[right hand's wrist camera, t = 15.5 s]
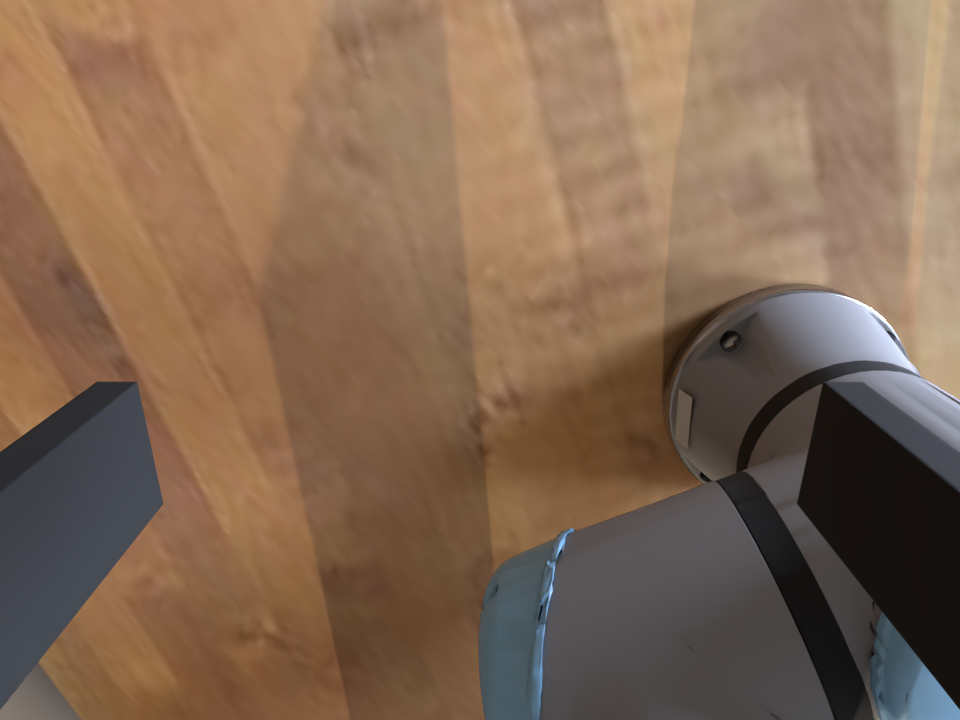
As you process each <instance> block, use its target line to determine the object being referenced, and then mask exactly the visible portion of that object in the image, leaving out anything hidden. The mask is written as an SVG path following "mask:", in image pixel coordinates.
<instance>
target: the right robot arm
mask: <svg viewBox="0 0 960 720" xmlns="http://www.w3.org/2000/svg"><path fill="white" fill-rule="evenodd" d="M663 412H664V419H665V425H666V428H667V432H668V434H669V437H670V439H671V441H672V443H673V445H674V447H675V449H676V450H677V452H678V454H679V456H680V458H681V459H682V461H683V463H684V464H685V465H686V467H687V468H688V470H689V471H690V472H691V473H692V474H693V475H694V476H695V477H696V478H697V479H698V480H699V481H700V482H701V483H703V485H700V486H698V487H695V488H693V489H690V490H687V491H685V492H682V493H679V494H677V495H674V496H671V497H669V498H666V499H663V500H661V501H658V502H656V503H653V504H650V505H648V506H645V507H642V508H639V509H636V510H634V511H631V512H628V513H625V514H622V515H619V516H617V517H614V518H611V519H608V520H605V521H603V522H600V523H597V524H594V525H591V526H589V527H586V528H583V529H580V530H577V531H576V530H574V529H572V528H570V529H567V530H564V531H562V532H561V533H560V534H559V535H558V536H557V538H555V539H553V540H550V541H548V542H546V543H543V544H541V545H539V546H536V547H534V548H532V549H530V550H527V551H525V552H523V553H520V554H518V555H516V556H513V557H511V558H510V559H508V560H506V561H505V562H504V563H503V564H502V565H500V567H499V568H498V569H497V570H496V571H495V573H494V575H493V576H492V578H491V579H490V581H489V584H488V586H487V589H486V592H485V595H484V600H483V605H482V613H481V615H480V624H479V672H480V685H481V695H482V703H483V710H484V716H485V720H960V400H959V399H957V398H955V397H954V396H952V395H950V394H949V393H947V392H946V391H944V390H942V389H941V388H939V387H937V386H936V385H934V384H932V383H930V382H929V381H927V380H925V379H924V378H922V377H921V376H920V374H919V372H918V371H917V369H916V368H915V367H914V365H913V364H911V363H910V362H909V359H908V356H907V354H906V351H905V349H904V347H903V345H902V343H901V342H900V340H899V338H898V336H897V334H896V333H895V331H894V330H893V329H892V327H891V326H890V325H889V324H888V323H887V322H886V320H885V319H884V318H882V317H881V316H880V315H879V314H878V313H877V312H875V311H874V310H872V309H871V308H869V307H868V306H866V305H864V304H862V303H860V302H859V301H857V300H855V299H853V298H851V297H849V296H847V295H845V294H843V293H841V292H838V291H835V290H833V289H830V288H826V287H822V286H816V285H809V284H785V285H778V286H772V287H768V288H763V289H760V290H757V291H754V292H751V293H748V294H746V295H743V296H741V297H739V298H737V299H735V300H733V301H731V302H729V303H727V304H726V305H724V306H723V307H721V308H720V309H718V310H717V311H715V312H714V313H713V314H711V315H710V316H709V317H707V318H706V319H705V320H704V321H703V322H702V323H701V324H700V325H699V326H698V327H697V328H696V329H695V330H694V331H693V332H692V333H691V334H690V336H689V337H688V338H687V340H686V341H685V342H684V344H683V345H682V347H681V348H680V350H679V352H678V353H677V355H676V357H675V359H674V361H673V363H672V365H671V368H670V370H669V373H668V376H667V380H666V384H665V389H664V398H663ZM162 505H163V501H162V496H161V491H160V487H159V482H158V477H157V473H156V468H155V463H154V459H153V454H152V449H151V445H150V440H149V435H148V431H147V426H146V421H145V417H144V412H143V407H142V403H141V398H140V393H139V389H138V384H137V382H96V383H95V384H93V385H92V386H91V387H89V388H88V389H86V390H85V391H84V392H82V393H81V394H80V395H78V396H77V397H75V398H74V399H73V400H71V401H70V402H69V403H67V404H66V405H64V406H63V407H62V408H60V409H59V410H58V411H56V412H55V413H53V414H52V415H51V416H49V417H48V418H47V419H45V420H44V421H42V422H41V423H40V424H38V425H37V426H36V427H34V428H33V429H31V430H30V431H29V432H27V433H26V434H25V435H23V436H22V437H20V438H19V439H18V440H16V441H15V442H14V443H12V444H11V445H9V446H8V447H7V448H5V449H4V450H3V451H1V452H0V709H1V708H2V707H3V706H4V704H5V703H6V702H7V701H8V699H9V698H10V697H11V696H12V694H13V693H14V692H15V691H16V689H17V688H18V687H19V685H20V684H21V683H22V682H23V680H24V679H25V678H26V677H27V675H28V674H29V673H30V672H31V670H32V669H33V668H34V666H35V665H36V664H37V663H38V661H39V660H40V659H41V658H42V656H43V655H44V654H45V653H46V651H47V650H48V649H49V648H50V646H51V645H52V644H53V642H54V641H55V640H56V639H57V637H58V636H59V635H60V634H61V632H62V631H63V630H64V629H65V627H66V626H67V625H68V624H69V622H70V621H71V620H72V618H73V617H74V616H75V615H76V613H77V612H78V611H79V610H80V608H81V607H82V606H83V605H84V603H85V602H86V601H87V599H88V598H89V597H90V596H91V594H92V593H93V592H94V591H95V589H96V588H97V587H98V586H99V584H100V583H101V582H102V581H103V579H104V578H105V577H106V575H107V574H108V573H109V572H110V570H111V569H112V568H113V567H114V565H115V564H116V563H117V562H118V560H119V559H120V558H121V557H122V555H123V554H124V553H125V551H126V550H127V549H128V548H129V546H130V545H131V544H132V543H133V541H134V540H135V539H136V538H137V536H138V535H139V534H140V532H141V531H142V530H143V529H144V527H145V526H146V525H147V524H148V522H149V521H150V520H151V519H152V517H153V516H154V515H155V514H156V512H157V511H158V510H159V508H160V507H161V506H162Z"/></svg>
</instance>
